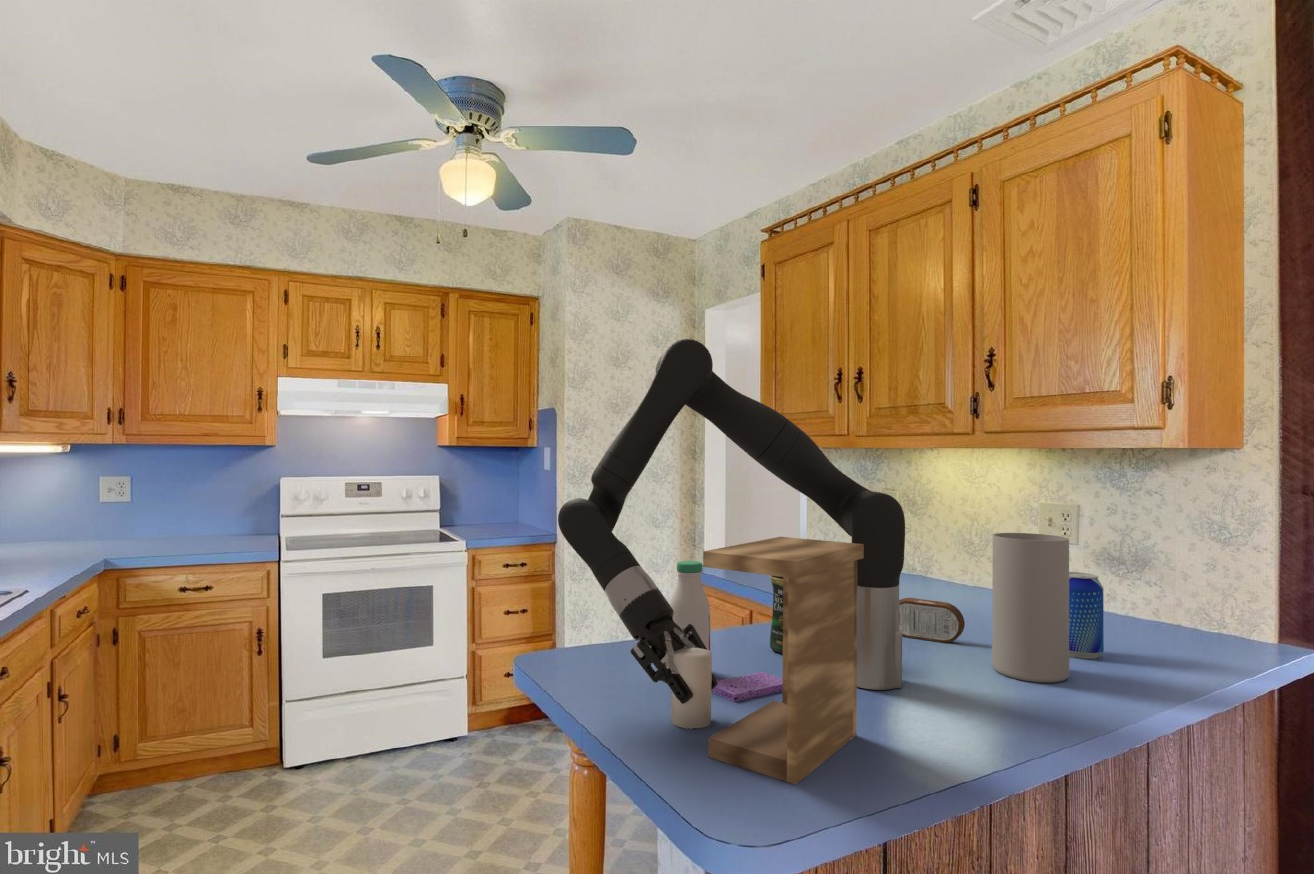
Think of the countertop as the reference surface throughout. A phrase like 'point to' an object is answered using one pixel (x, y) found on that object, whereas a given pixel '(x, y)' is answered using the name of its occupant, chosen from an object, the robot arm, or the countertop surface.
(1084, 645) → the beer can
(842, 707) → the wooden c-shaped stand
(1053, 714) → the countertop surface
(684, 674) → the candle
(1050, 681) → the cylinder vase
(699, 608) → the milk bottle
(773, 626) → the coffee jar
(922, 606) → the tin
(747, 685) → the sponges
